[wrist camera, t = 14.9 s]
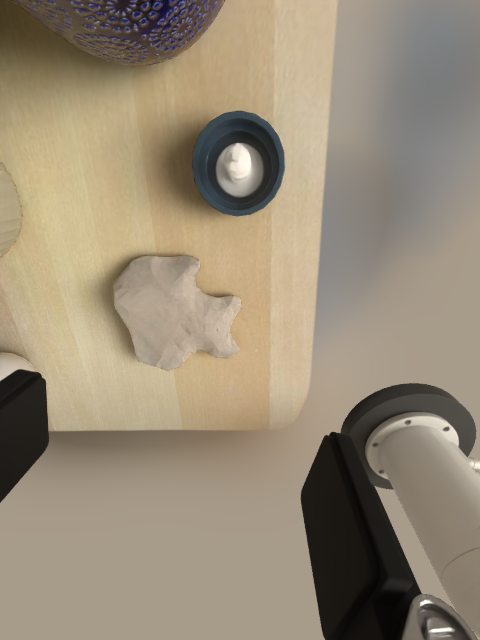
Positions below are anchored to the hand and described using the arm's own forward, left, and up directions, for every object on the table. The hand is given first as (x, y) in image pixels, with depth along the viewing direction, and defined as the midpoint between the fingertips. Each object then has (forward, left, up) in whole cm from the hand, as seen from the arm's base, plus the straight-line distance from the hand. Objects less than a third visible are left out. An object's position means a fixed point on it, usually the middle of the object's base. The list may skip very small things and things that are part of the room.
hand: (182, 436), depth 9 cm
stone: (+5, +6, -25) cm, 27 cm away
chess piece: (+1, -10, -25) cm, 27 cm away
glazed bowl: (+1, -10, -25) cm, 27 cm away
